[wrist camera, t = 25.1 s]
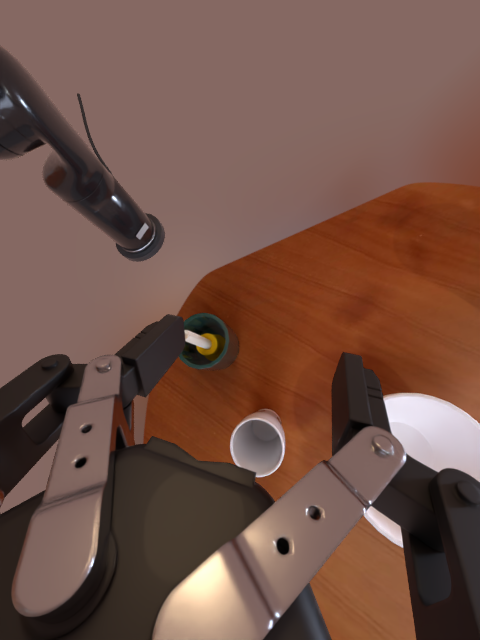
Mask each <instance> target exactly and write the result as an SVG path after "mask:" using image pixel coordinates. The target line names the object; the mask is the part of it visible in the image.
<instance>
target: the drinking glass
mask: <svg viewBox="0 0 480 640" xmlns="http://www.w3.org/2000/svg"><path fill="white" fill-rule="evenodd" d="M230 450H231V455H232V458H233V460H234V462H235V464H236V465H237V466H239V467H242V468H245V469H248V470H251V471H253V472H256V477H264V476H268V475H270V474H272V473H273V472H274V471H276V470H277V468H278V467H279V466H280V464H281V462H282V460H283V457H284V452H285V434H284V431H283V428H282V424H281V420H280V418H279V416H278V415H277V413H275V412H274V411H273V410H270V409H261V410H259V411H257V412H255V413H252V414H250V415H248V416H246V417H245V418H244V419H242V420H241V421H240V423H239V424H238V425H237V426H236V428H235V429H234V431H233V433H232V436H231V440H230Z"/></svg>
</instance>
